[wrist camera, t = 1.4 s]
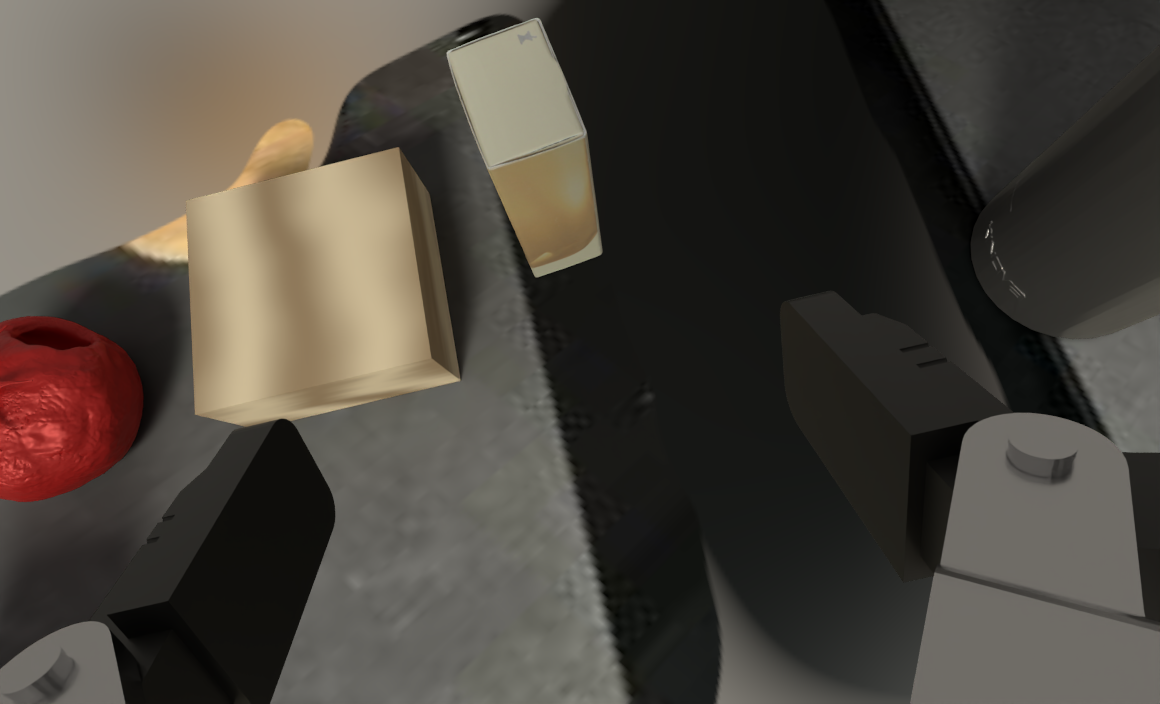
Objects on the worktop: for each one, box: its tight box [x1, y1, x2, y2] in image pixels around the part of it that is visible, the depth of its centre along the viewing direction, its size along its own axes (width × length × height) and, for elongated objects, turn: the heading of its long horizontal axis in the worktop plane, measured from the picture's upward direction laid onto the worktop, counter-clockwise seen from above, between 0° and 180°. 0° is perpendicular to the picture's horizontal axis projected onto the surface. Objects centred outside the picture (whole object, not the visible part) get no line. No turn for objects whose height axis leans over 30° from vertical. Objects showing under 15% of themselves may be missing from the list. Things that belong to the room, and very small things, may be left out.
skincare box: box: [447, 18, 603, 277], centre depth 31 cm, size 6×4×12 cm
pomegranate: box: [0, 316, 144, 502], centre depth 32 cm, size 10×10×9 cm
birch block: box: [186, 147, 461, 427], centre depth 34 cm, size 12×12×5 cm
